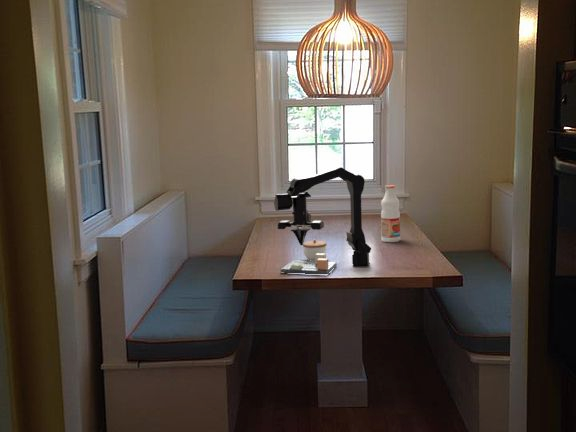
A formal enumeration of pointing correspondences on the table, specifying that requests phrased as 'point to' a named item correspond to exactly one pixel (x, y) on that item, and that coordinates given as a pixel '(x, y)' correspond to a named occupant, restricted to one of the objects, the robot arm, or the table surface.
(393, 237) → the fruit juice
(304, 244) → the lidded jar
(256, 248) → the table surface
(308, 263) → the panel
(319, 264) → the slider
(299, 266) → the button
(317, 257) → the slider
